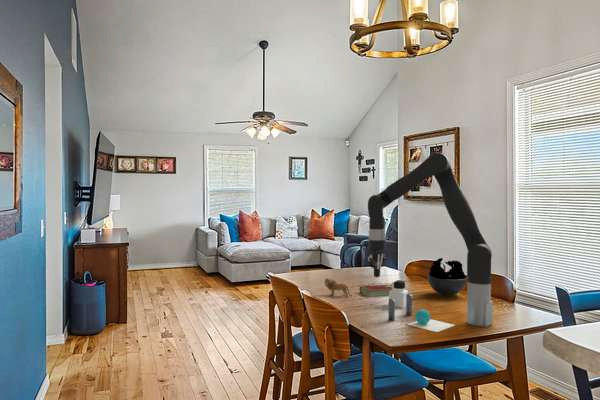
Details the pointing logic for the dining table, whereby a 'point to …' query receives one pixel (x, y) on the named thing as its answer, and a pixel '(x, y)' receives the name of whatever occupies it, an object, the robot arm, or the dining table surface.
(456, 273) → the coal bowl
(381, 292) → the hardcover book
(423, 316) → the ball
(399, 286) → the medicine bottle
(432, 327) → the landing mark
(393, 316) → the left post
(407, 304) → the right post
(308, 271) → the dining table surface
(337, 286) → the lion figurine
